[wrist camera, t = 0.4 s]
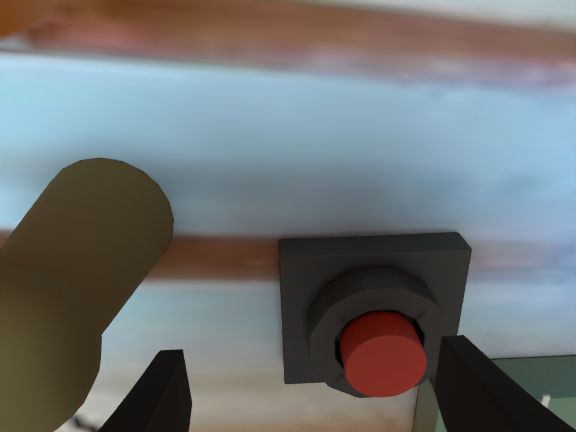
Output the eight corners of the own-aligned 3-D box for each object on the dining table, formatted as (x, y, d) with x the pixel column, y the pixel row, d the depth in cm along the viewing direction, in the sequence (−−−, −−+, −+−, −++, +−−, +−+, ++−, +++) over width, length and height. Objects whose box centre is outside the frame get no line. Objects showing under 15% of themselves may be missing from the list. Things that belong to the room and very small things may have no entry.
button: (412, 367, 22) (422, 396, 20) (338, 371, 22) (344, 399, 20) (419, 308, 20) (431, 333, 19) (340, 311, 20) (346, 337, 19)
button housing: (439, 354, 26) (463, 404, 22) (283, 362, 25) (285, 412, 22) (458, 231, 22) (489, 269, 19) (278, 239, 22) (279, 278, 19)
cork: (31, 155, 20) (-210, 308, 10) (169, 159, 20) (68, 311, 10) (56, 271, 22) (-116, 483, 12) (177, 273, 23) (104, 483, 13)
